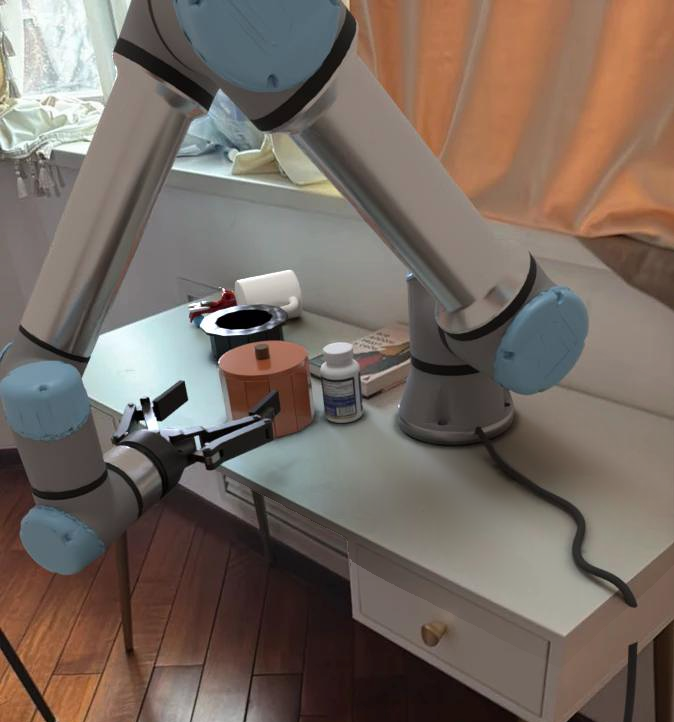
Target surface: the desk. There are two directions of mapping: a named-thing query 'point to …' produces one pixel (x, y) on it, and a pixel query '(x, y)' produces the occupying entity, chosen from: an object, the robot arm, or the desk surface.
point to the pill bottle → (341, 383)
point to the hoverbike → (211, 306)
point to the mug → (271, 292)
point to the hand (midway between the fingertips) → (229, 395)
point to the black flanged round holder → (243, 326)
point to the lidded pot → (268, 382)
